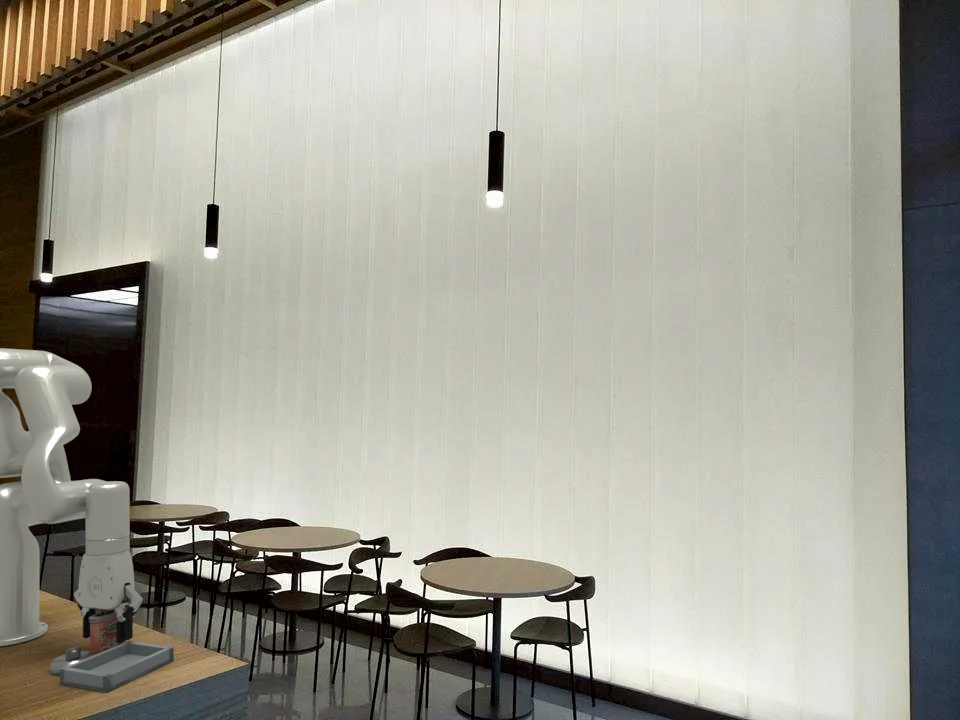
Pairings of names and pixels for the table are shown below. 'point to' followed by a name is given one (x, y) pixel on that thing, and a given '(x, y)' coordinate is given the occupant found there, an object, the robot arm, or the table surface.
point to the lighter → (103, 630)
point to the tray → (116, 666)
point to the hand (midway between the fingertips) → (107, 637)
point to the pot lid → (68, 659)
